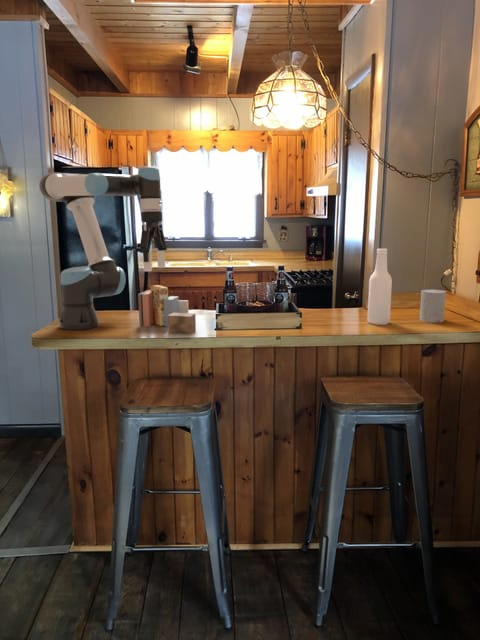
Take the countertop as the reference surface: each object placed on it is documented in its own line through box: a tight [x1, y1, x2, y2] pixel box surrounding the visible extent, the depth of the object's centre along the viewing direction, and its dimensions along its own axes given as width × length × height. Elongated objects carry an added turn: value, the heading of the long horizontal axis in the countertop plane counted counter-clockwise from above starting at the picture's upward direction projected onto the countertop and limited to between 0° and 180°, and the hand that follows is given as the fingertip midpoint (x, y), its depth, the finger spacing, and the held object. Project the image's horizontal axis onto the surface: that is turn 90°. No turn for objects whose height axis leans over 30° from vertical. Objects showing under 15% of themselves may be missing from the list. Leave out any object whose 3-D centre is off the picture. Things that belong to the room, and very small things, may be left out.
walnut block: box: [167, 312, 197, 336], centre depth 194 cm, size 9×6×7 cm, turn 79°
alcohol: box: [366, 247, 393, 326], centre depth 206 cm, size 9×9×30 cm
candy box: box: [149, 284, 169, 327], centre depth 207 cm, size 9×4×15 cm, turn 33°
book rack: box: [137, 289, 190, 327], centre depth 208 cm, size 17×12×13 cm
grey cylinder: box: [418, 288, 447, 324], centre depth 213 cm, size 10×10×12 cm
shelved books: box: [142, 291, 180, 328], centre depth 208 cm, size 12×9×13 cm
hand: (155, 269), depth 191 cm, fingers open, 13 cm apart
